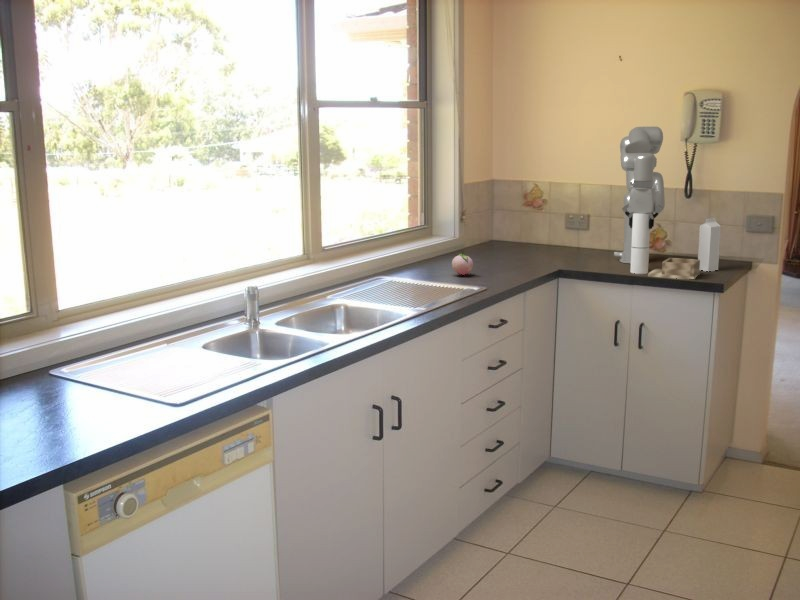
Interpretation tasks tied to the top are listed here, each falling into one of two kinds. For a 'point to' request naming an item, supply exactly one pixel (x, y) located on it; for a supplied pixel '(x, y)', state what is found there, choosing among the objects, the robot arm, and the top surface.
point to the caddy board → (677, 269)
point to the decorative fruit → (462, 264)
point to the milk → (709, 245)
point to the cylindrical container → (640, 243)
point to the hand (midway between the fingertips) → (641, 227)
